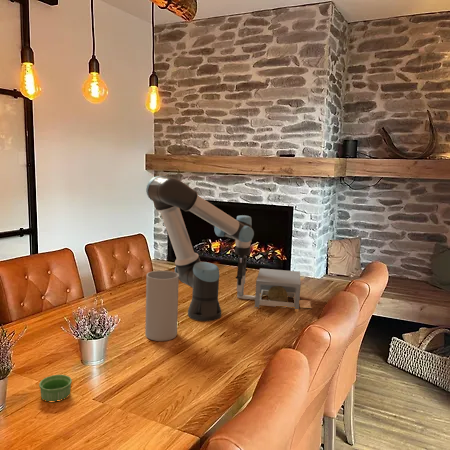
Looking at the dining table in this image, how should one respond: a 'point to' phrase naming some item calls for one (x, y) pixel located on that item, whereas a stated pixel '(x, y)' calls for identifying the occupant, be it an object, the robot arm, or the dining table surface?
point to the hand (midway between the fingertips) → (240, 287)
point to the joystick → (265, 292)
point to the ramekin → (55, 387)
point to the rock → (277, 294)
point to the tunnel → (278, 283)
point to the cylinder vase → (161, 305)
